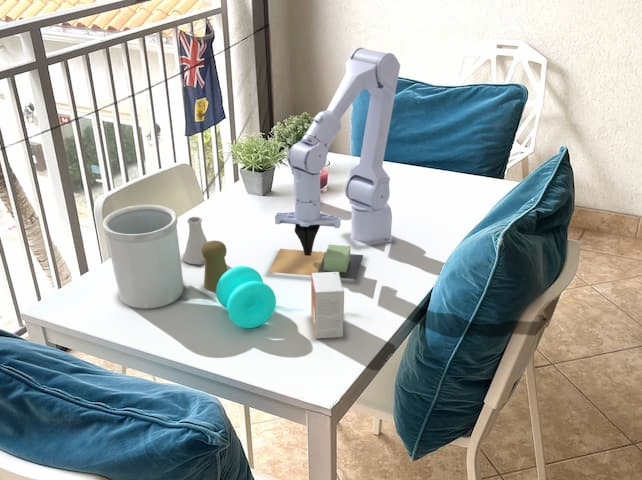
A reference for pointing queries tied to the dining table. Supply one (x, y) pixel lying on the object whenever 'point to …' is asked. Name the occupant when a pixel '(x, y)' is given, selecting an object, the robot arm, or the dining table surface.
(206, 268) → the cork
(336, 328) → the small box
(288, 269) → the board
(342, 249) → the sage block
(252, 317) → the turquoise spool
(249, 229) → the dining table surface
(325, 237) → the dining table surface
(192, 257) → the flask
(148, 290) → the utensil holder
